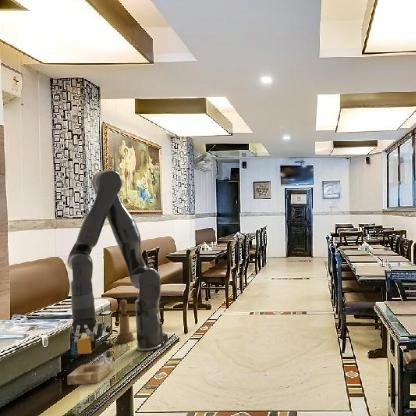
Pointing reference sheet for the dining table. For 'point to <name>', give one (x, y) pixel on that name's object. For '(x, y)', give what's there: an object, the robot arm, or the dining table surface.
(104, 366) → the wooden square tray
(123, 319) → the brown tall wooden piece
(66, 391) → the dining table surface
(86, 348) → the orange block
